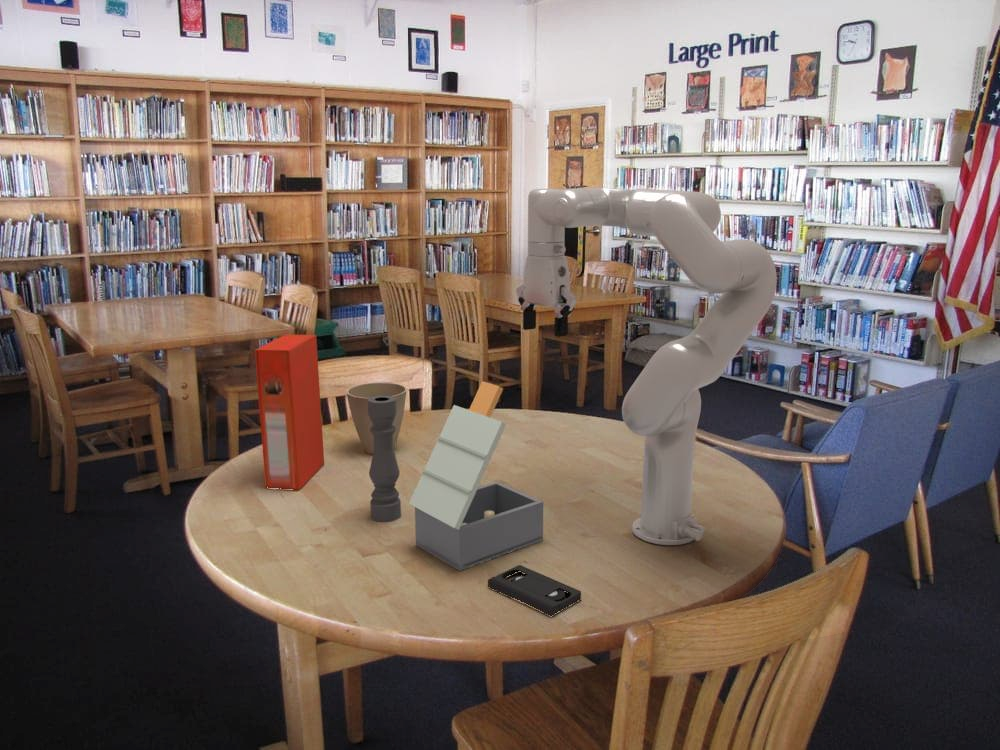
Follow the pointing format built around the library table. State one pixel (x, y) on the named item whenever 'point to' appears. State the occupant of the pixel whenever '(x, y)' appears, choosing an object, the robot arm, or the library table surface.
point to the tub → (483, 527)
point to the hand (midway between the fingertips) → (544, 332)
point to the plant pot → (360, 409)
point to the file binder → (290, 410)
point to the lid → (460, 459)
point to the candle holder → (383, 460)
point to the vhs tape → (535, 590)
